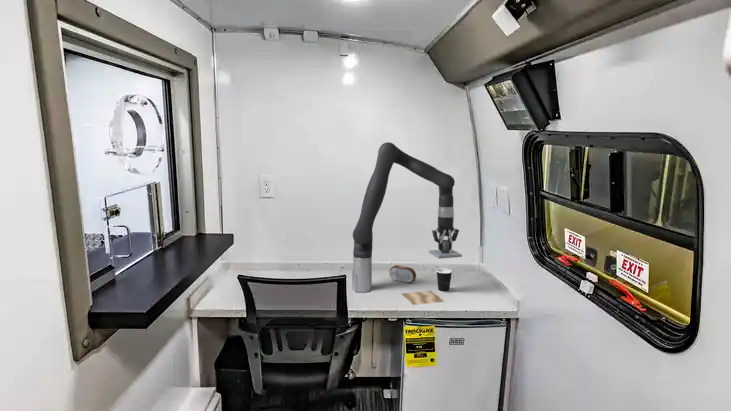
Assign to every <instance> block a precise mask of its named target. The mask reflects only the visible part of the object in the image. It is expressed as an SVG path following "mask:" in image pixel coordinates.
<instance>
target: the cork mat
mask: <svg viewBox="0 0 731 411" xmlns="http://www.w3.org/2000/svg"><path fill="white" fill-rule="evenodd" d="M400 295H401V296H403V297H404V298H405V299H406V300H407V301H409V303H410V304H411V305H412V306H414V305H424V304H432V303H433V304H435V303H444V302H445V303H446V301H445V300H444V299H443V298H441V297H440V296H438V295H437V294H436V292H433V291H431V290H425V291H415V292H413V291H412V292H405V293H404V292H403V293H400Z"/></svg>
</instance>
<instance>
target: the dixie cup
mask: <svg viewBox="0 0 731 411" xmlns="http://www.w3.org/2000/svg"><path fill="white" fill-rule="evenodd" d="M435 271H436V277H437V278H436V279H437V280H436V281H437V288H438V289H437V290H438V292H439V293H442V294H444V293H449V291H450V287H451V279H452V273H453V270H452V269H451V268H446V267H445V268H437V269H436V270H435Z"/></svg>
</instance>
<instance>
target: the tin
mask: <svg viewBox="0 0 731 411" xmlns="http://www.w3.org/2000/svg"><path fill="white" fill-rule="evenodd" d="M389 277H390V278H391V279H392V281H395V282H399V283H404V284H412V283H413V282H415V281H416V279H417V273H416V271H415V269H413V268H412V267H410V266H404V265H397V264H394V265H393V266H392V267H390V269H389Z"/></svg>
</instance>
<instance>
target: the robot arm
mask: <svg viewBox="0 0 731 411" xmlns="http://www.w3.org/2000/svg"><path fill="white" fill-rule="evenodd" d="M375 163H376V164H375V168H374V170H373V172H372V175H371V177H370V178H369V181H368V184H367V187H366V190H365V193H364V196H363V197H364V198H363V201H362V205H361V210H360V215H359V218H358V221H357V222H356V225H355V228H354V229H353V232H352V238H353V250H352V253H353V260H352V261H353V263H352V266H353V267H352V268H353V269H352V271H351V281H352V282H351V284H352V285H351V288H352V290H353V291H354V292H355V293H369V292H371V291H372V290H373V289H372V288H373V285H372V282H373V280H372V279H373V276H372V275H373V273H372V272H373V269H372V268H373V237H374V236H373V229H374V228H373V226H374V223H375V219H376V217H377V215H378V213H379V210H380V208H381V207H382V203H383V201H384V198H385V195H386V191H387V187H388V184H389V177H390V173H391V170H392V167H393V165H394V164H397V165H399V166H401V167H404V168H405V169H407V170H408V171H410V172H412V173H413V174H415V175H416V176H419V177H420V178H422V179H424V180H426V181H428V182H431V183H433V184H434V185H435V186H438V193H439V194H438V209H437V227H436V229H432V230H431V234H432V237H433V241H434V242H436V243H437V245H438V246H437V248H438V249H437V250H440V251H442V246H443V243H442V241H443V240H445V237H446V238H447V240H449V250H451V249H452V248H453V243H454V242H456V240H457V238H458V236H459V231H460V229H458V228H454V218H455V217H454V216H455V212H454V195H453V194H454V192H453V189H454V188H453V187H455V183H456V181H455V178H454V177H453V176H452V175H450V174H449V173H446V172H444V171H441V170H439V169H438V168H436V167H434V166H432V165H431V164H428V163H426V162H424V161H422V160H420V159H418V158H417V157H416V158H415V157H414V156H412V155H409V154H408V153H406V152H405V151H403V150H401V149H400V148H399V147H397V146H396V145H395V144H394V143H393V142H391V141H390V142H388V141H387V142H384V143H382V144H381V145H380V147H378V151H377V159H376V162H375ZM438 234H439V235H438ZM452 250H453V249H452Z"/></svg>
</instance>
